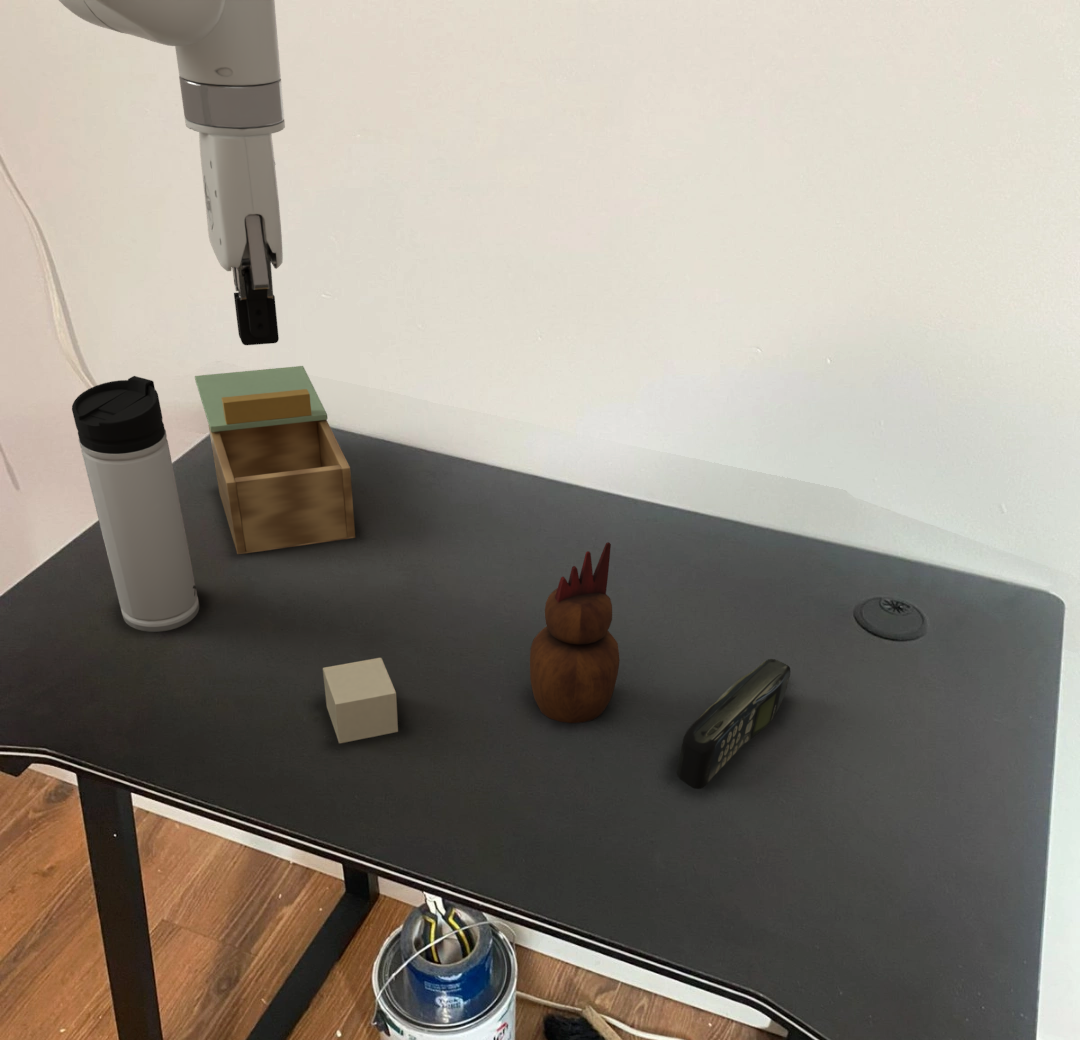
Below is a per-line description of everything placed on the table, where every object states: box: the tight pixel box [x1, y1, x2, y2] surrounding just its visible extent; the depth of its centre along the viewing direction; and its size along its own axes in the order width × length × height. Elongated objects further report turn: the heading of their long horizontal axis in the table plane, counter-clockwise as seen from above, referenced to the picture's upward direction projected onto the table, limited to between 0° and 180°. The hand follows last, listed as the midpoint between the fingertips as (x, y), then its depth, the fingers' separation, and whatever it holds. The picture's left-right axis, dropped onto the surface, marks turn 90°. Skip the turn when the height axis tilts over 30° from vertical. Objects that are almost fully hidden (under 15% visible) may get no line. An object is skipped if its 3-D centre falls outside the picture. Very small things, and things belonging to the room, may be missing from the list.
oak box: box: [208, 419, 356, 555], centre depth 102 cm, size 11×12×8 cm
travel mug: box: [71, 375, 200, 633], centre depth 85 cm, size 6×7×20 cm
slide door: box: [194, 365, 328, 432], centre depth 105 cm, size 11×12×3 cm
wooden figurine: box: [529, 542, 620, 724], centre depth 80 cm, size 7×6×15 cm
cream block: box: [322, 657, 399, 744], centre depth 81 cm, size 4×4×4 cm
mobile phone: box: [676, 658, 792, 790], centre depth 81 cm, size 5×3×15 cm
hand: (259, 340), depth 94 cm, fingers closed
